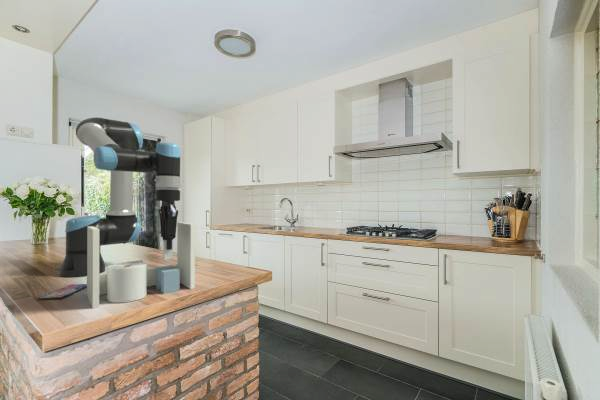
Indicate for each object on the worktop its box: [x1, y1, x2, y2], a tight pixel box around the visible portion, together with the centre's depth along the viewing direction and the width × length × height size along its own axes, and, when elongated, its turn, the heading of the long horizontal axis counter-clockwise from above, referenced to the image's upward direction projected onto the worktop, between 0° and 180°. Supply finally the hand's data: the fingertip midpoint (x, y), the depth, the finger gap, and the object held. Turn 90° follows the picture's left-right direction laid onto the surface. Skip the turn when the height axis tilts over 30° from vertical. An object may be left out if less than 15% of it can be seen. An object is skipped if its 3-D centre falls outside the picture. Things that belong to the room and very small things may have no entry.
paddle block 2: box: [160, 268, 181, 295], centre depth 99 cm, size 3×5×7 cm, turn 131°
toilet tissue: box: [106, 259, 148, 304], centre depth 93 cm, size 11×12×10 cm
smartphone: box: [36, 283, 87, 301], centre depth 98 cm, size 8×1×15 cm
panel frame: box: [86, 221, 196, 309], centre depth 98 cm, size 14×29×22 cm, turn 131°
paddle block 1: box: [155, 265, 174, 291], centre depth 103 cm, size 3×5×7 cm, turn 131°
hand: (167, 258), depth 101 cm, fingers closed
